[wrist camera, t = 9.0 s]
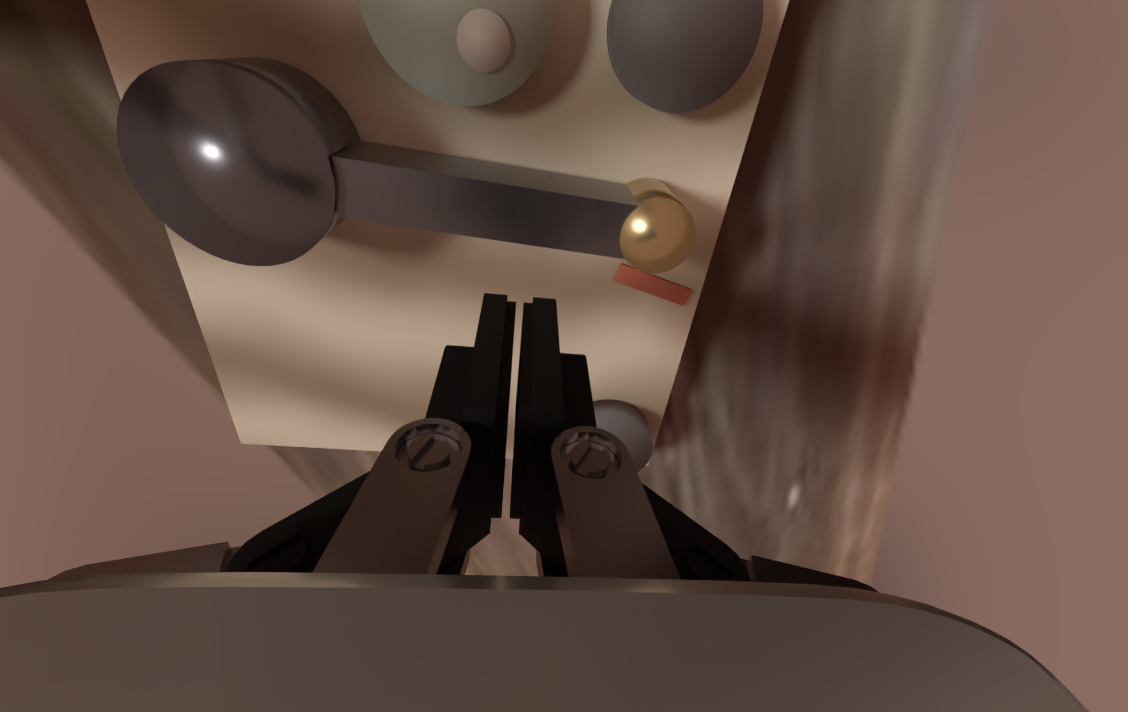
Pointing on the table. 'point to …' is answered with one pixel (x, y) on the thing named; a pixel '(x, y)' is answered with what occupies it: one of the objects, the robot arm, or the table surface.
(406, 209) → the grey lever handle
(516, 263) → the plate
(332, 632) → the robot arm
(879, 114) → the table surface
